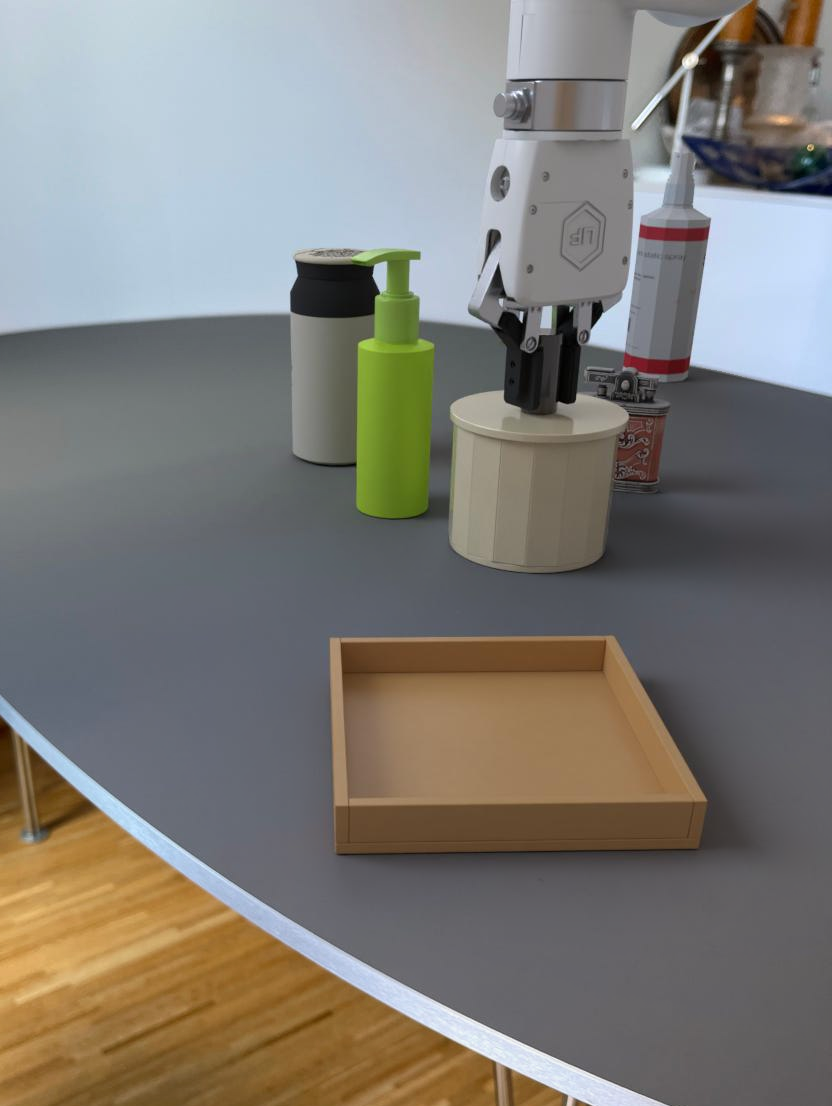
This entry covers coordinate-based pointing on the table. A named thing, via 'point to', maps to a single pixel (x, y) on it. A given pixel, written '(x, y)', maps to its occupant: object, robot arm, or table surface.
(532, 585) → the table surface
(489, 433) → the tin lid
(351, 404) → the travel mug
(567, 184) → the robot arm
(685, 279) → the glue bottle
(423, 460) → the soap dispenser
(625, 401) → the lighter
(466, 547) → the tin
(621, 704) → the tray
